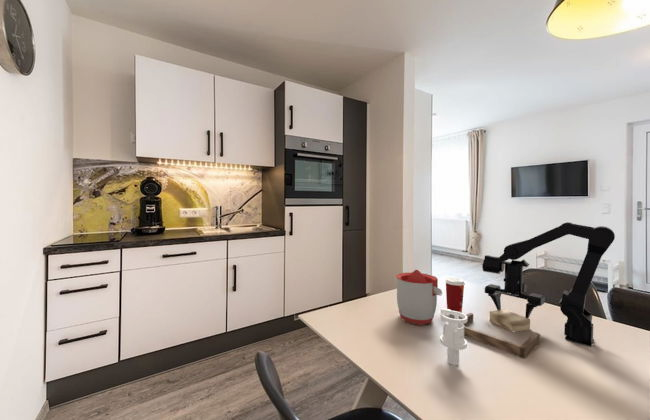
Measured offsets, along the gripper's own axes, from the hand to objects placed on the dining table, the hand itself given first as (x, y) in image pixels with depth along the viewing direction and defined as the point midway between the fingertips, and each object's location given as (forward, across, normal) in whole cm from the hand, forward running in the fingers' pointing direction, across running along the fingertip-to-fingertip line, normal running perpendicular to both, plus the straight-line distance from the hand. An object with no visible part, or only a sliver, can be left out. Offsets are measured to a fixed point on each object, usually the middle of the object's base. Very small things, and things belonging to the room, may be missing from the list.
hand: (512, 315), depth 107 cm
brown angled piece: (+2, 0, +18) cm, 18 cm away
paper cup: (+3, +19, +8) cm, 21 cm away
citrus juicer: (+3, +24, +27) cm, 36 cm away
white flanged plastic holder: (+3, 0, +45) cm, 45 cm away
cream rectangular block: (+3, 0, +3) cm, 4 cm away
